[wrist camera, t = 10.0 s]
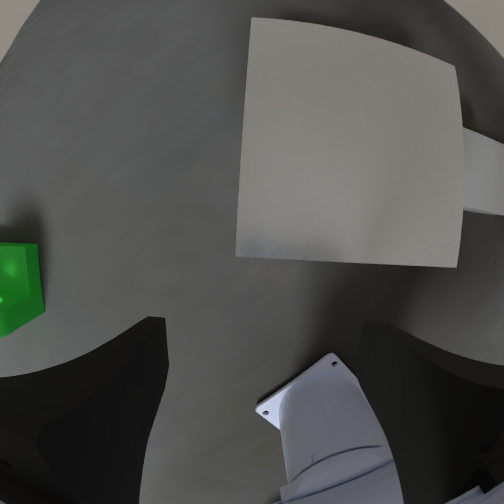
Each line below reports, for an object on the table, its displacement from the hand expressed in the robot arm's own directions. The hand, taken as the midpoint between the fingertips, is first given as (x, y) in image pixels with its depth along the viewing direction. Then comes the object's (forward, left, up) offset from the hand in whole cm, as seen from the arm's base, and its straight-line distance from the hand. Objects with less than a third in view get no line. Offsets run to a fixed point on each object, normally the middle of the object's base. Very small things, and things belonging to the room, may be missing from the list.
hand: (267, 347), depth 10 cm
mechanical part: (+16, +18, -11) cm, 27 cm away
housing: (+3, -9, -11) cm, 14 cm away
